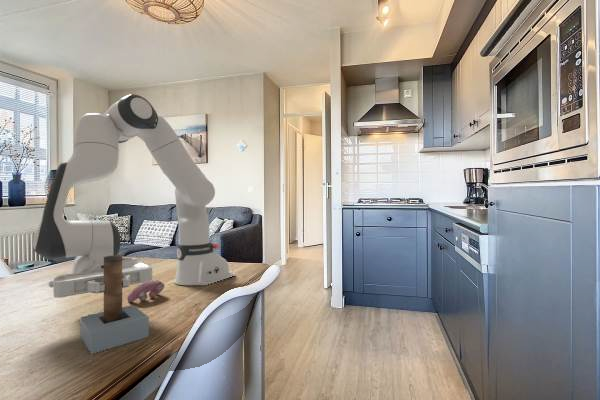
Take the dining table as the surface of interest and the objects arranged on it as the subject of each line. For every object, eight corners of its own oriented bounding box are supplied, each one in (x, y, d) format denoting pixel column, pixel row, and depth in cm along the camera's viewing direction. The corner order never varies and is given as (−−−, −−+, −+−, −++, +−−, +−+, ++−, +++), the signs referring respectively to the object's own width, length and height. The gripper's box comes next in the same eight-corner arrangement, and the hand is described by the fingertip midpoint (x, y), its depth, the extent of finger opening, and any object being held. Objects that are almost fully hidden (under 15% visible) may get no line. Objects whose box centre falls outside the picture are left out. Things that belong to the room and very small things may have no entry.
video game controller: (132, 309, 90) (138, 290, 88) (124, 300, 92) (130, 281, 90) (162, 299, 98) (168, 282, 97) (155, 291, 100) (160, 274, 99)
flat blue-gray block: (133, 322, 77) (133, 304, 77) (148, 336, 69) (148, 317, 69) (80, 336, 69) (80, 317, 69) (91, 354, 61) (90, 332, 61)
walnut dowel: (119, 317, 71) (119, 254, 71) (124, 322, 69) (124, 256, 69) (101, 322, 69) (101, 256, 69) (105, 327, 66) (105, 259, 66)
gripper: (47, 269, 71) (55, 280, 61) (141, 257, 85) (160, 265, 75) (47, 296, 71) (55, 312, 61) (141, 279, 85) (160, 290, 75)
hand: (114, 286), depth 68 cm, fingers closed on walnut dowel, 4 cm apart
